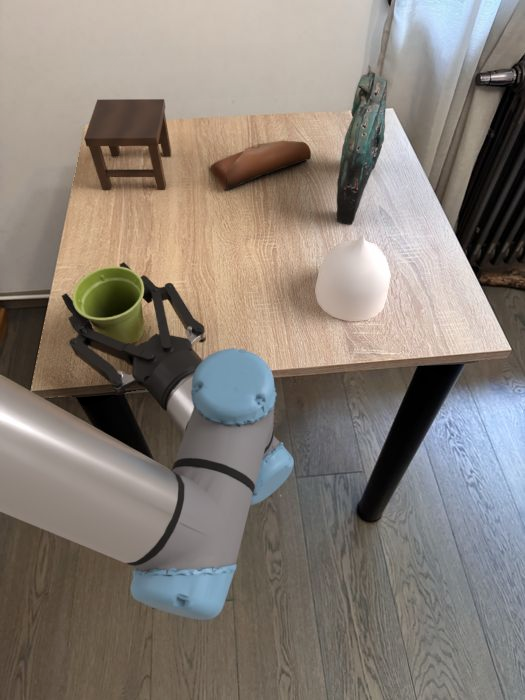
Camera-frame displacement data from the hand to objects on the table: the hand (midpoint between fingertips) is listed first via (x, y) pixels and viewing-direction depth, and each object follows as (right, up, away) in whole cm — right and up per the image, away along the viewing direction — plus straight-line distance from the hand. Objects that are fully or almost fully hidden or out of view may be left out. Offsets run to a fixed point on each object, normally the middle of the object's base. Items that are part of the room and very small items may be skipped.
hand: (96, 285), depth 71 cm
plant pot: (+3, -6, +3) cm, 8 cm away
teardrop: (+37, -1, +7) cm, 38 cm away
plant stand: (0, +25, +25) cm, 35 cm away
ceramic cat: (+40, +20, +21) cm, 49 cm away
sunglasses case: (+23, +26, +25) cm, 43 cm away
